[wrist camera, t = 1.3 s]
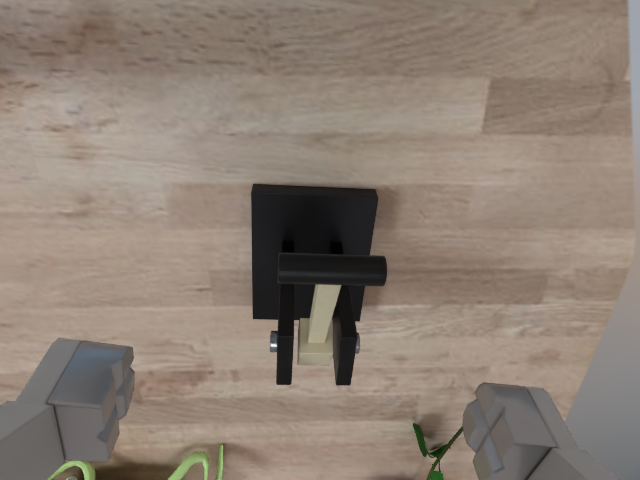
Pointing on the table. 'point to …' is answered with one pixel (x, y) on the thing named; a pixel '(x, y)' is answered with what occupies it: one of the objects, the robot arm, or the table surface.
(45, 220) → the table surface
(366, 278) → the lever
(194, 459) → the figurine
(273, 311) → the bracket
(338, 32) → the table surface
